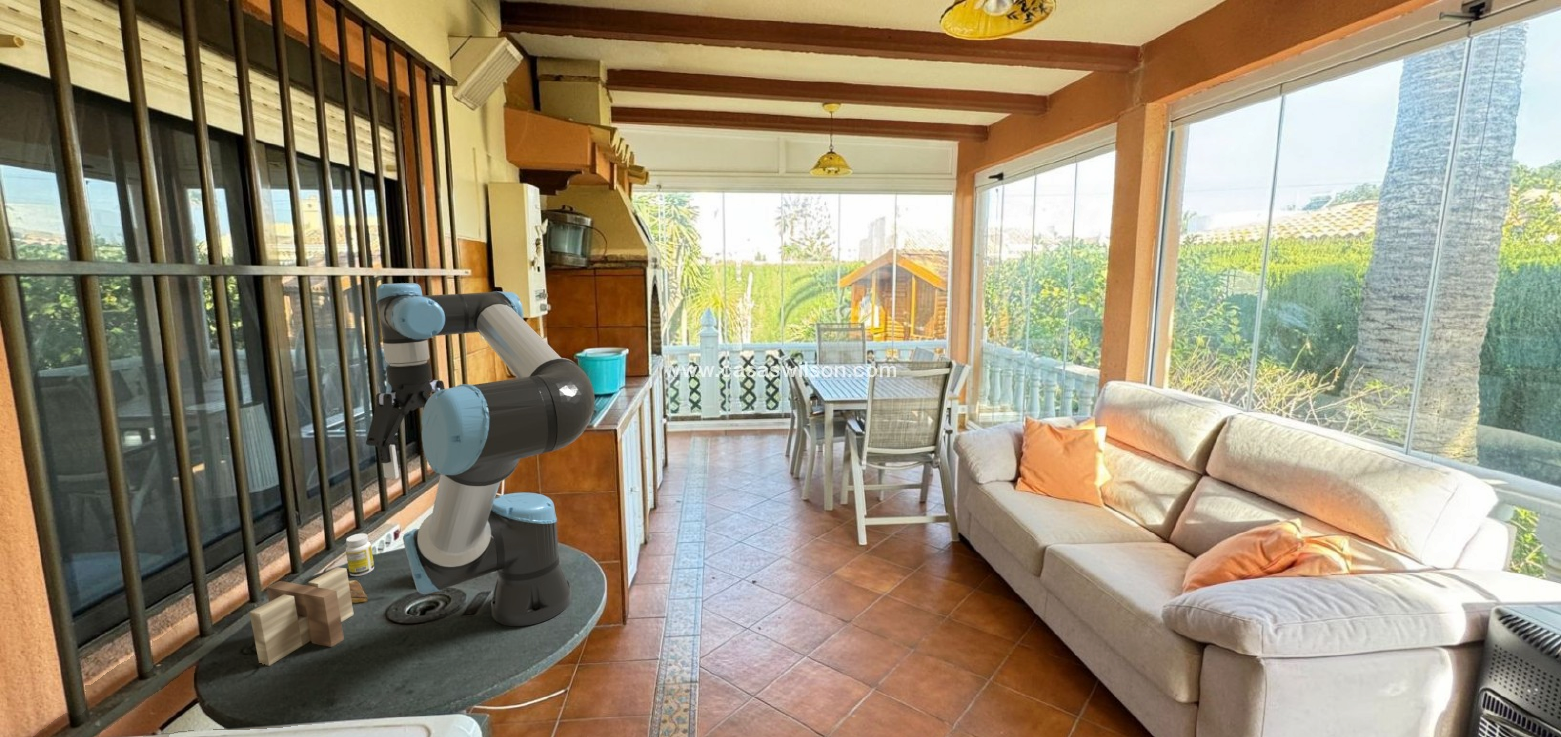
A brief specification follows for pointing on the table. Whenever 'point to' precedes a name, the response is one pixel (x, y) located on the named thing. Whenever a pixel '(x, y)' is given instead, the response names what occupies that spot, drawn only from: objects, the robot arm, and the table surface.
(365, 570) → the supplement bottle
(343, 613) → the interlocking wood puzzle
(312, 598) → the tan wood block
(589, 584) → the table surface
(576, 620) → the table surface
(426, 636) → the table surface
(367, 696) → the table surface
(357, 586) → the brown flat piece
